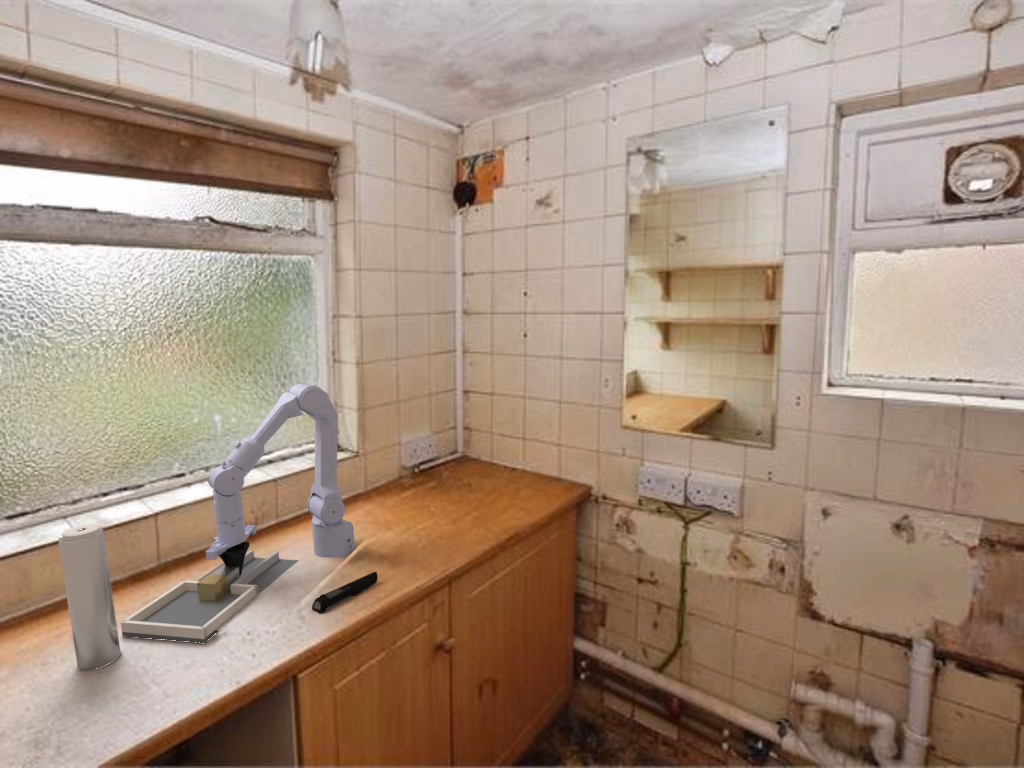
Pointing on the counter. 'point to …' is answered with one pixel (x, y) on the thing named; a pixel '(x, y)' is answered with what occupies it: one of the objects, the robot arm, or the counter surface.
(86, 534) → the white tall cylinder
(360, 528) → the counter surface
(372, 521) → the counter surface
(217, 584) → the mustard yellow cube
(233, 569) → the light grey cube
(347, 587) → the electric trimmer
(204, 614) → the channel board
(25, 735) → the counter surface
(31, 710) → the counter surface
